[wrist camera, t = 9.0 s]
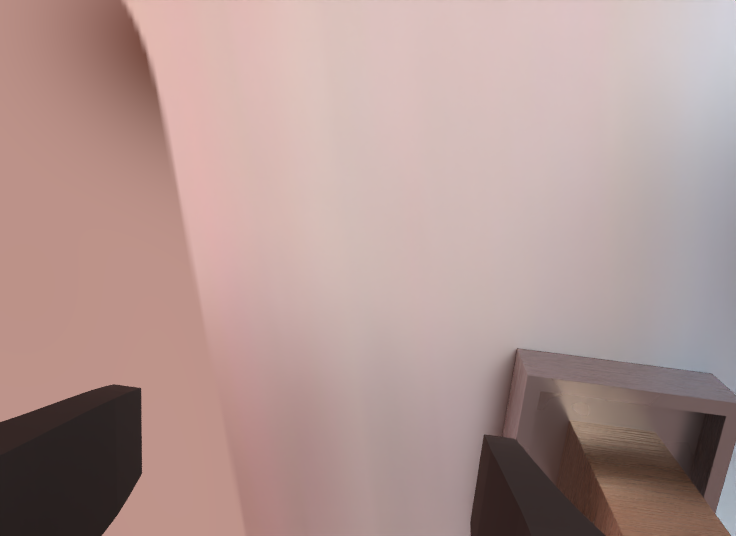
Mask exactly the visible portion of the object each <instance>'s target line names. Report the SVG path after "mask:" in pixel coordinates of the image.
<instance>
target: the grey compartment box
mask: <svg viewBox="0 0 736 536" xmlns="http://www.w3.org/2000/svg"><path fill="white" fill-rule="evenodd" d="M502 437H506V438H513V439H516V441H517V442H518V443H519V444H520V445H521V446H522V447H523V449H524V450H525V451H526V452H527V453H528V454H529V456H530V457H531V458H532V459H533V460H534V462H535V463H536V464H537V465H538V466H539V467H540V469H541V470H542V471H543V472H544V473H545V474H546V475H547V477H548V478H549V479H550V480H551V481H552V482H553V483H554V484H555V485H556V487H557V488H558V489H559V490H560V491H561V492H562V493H563V494H564V495H565V496H566V497H567V498H568V499H569V501H570V502H571V503H572V504H573V505H574V506H575V507H576V508H577V509H578V510H579V511H580V512H581V513H582V514H583V515H584V516H586V517H587V518H588V519H589V520H590V521H591V522H592V523H593V524H594V525H595V526H596V527H597V528H598V529H599V530H600V531H601V532H602V533H603V534H605V535H606V536H731V535H730V534H729V532H728V531H727V529H726V528H725V527H724V525H723V524H722V523H721V521H720V520H719V518H718V517H717V516H716V514H715V512H716V509H717V505H718V502H719V498H720V495H721V491H722V488H723V484H724V481H725V477H726V474H727V470H728V467H729V463H730V460H731V456H732V453H733V449H734V446H735V442H736V395H735V394H734V393H733V392H732V391H731V390H730V389H728V388H727V387H726V386H725V385H724V384H723V383H722V382H721V381H719V380H718V379H717V378H716V377H715V376H714V375H713V374H710V373H702V372H695V371H687V370H679V369H671V368H664V367H656V366H648V365H641V364H633V363H625V362H618V361H610V360H602V359H595V358H587V357H579V356H572V355H564V354H556V353H549V352H541V351H533V350H525V349H518V348H517V354H516V360H515V365H514V371H513V377H512V383H511V388H510V394H509V400H508V406H507V412H506V417H505V423H504V429H503V435H502Z"/></svg>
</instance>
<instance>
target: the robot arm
mask: <svg viewBox="0 0 736 536" xmlns="http://www.w3.org/2000/svg"><path fill="white" fill-rule="evenodd" d="M141 439H142V436H141V388H136V387H128V386H121V385H109V386H105V387H101V388H98V389H95V390H91V391H88V392H85V393H82V394H80V395H77V396H74V397H71V398H68V399H65V400H62V401H60V402H57V403H54V404H51V405H48V406H46V407H43V408H40V409H38V410H35V411H32V412H29V413H26V414H23V415H21V416H18V417H15V418H12V419H9V420H6V421H3V422H0V536H102V534H103V533H104V532H105V530H106V529H107V528H108V527H109V525H110V524H111V523H112V521H113V520H114V519H115V517H116V516H117V515H118V513H119V512H120V510H121V508H122V507H123V505H124V504H125V502H126V500H127V499H128V497H129V495H130V494H131V492H132V490H133V488H134V486H135V485H136V483H137V481H138V479H139V478H140V476H141V474H142V440H141ZM470 523H471V536H606V535H605V534H603V533H602V532H601V531H600V530H599V529H598V528H597V527H596V526H595V525H594V524H593V523H592V522H591V521H590V520H589V519H588V518H587V517H586V516H584V515H583V514H582V513H581V512H580V511H579V510H578V509H577V508H576V507H575V506H574V505H573V504H572V503H571V502H570V501H569V499H568V498H567V497H566V496H565V495H564V494H563V493H562V492H561V491H560V490H559V489H558V488H557V487H556V485H555V484H554V483H553V482H552V481H551V480H550V479H549V478H548V477H547V475H546V474H545V473H544V472H543V471H542V470H541V469H540V467H539V466H538V465H537V464H536V463H535V462H534V460H533V459H532V458H531V457H530V456H529V454H528V453H527V452H526V451H525V450H524V449H523V447H522V446H521V445H520V444H519V443H518V442H517V441H516V439H513V438H506V437H498V436H491V435H484V438H483V444H482V451H481V457H480V464H479V470H478V477H477V483H476V490H475V496H474V503H473V509H472V516H471V522H470Z"/></svg>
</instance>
